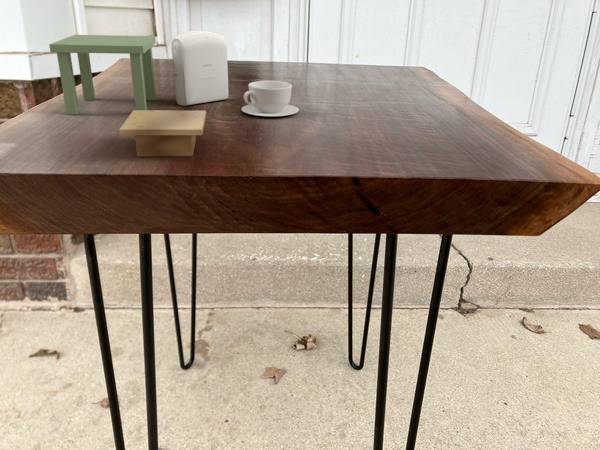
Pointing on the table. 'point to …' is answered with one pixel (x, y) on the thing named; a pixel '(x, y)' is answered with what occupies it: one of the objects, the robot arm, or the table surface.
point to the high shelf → (105, 44)
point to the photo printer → (200, 67)
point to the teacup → (269, 99)
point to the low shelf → (164, 131)
